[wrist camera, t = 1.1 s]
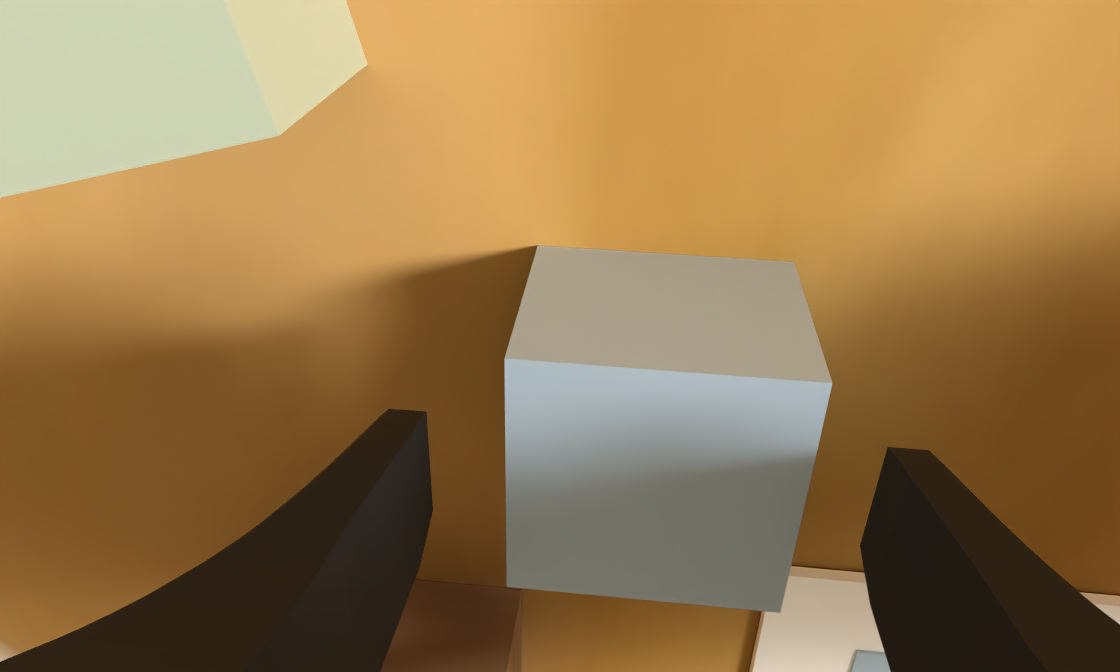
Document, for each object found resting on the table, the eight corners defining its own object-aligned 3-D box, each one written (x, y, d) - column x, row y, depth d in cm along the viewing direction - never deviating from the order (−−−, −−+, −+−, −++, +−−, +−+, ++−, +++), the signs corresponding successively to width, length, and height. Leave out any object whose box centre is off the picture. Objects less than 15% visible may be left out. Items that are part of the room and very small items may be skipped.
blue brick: (793, 259, 15) (832, 383, 12) (756, 460, 18) (779, 613, 14) (538, 242, 16) (504, 358, 12) (535, 442, 18) (506, 586, 14)
